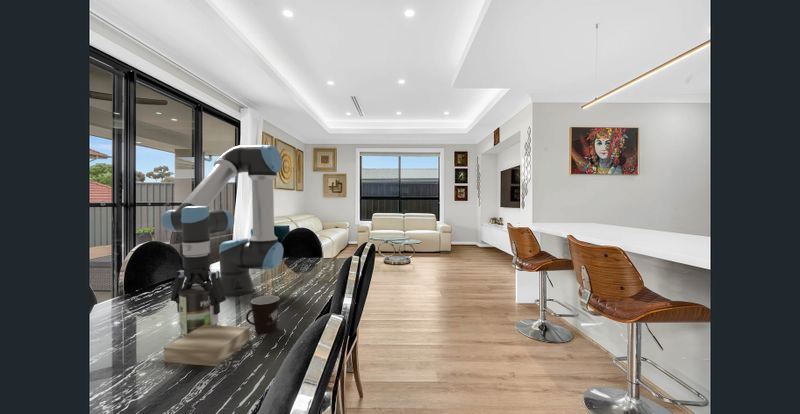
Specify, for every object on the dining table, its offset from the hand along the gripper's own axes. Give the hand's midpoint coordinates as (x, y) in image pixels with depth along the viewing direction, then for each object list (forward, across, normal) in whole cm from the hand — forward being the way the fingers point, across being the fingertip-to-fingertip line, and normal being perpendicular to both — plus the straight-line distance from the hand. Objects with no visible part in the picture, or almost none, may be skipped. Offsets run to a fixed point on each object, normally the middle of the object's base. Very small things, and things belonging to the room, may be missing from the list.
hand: (199, 323), depth 107 cm
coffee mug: (+3, +20, +3) cm, 20 cm away
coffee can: (+3, 0, 0) cm, 3 cm away
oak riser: (+3, +12, -11) cm, 17 cm away
